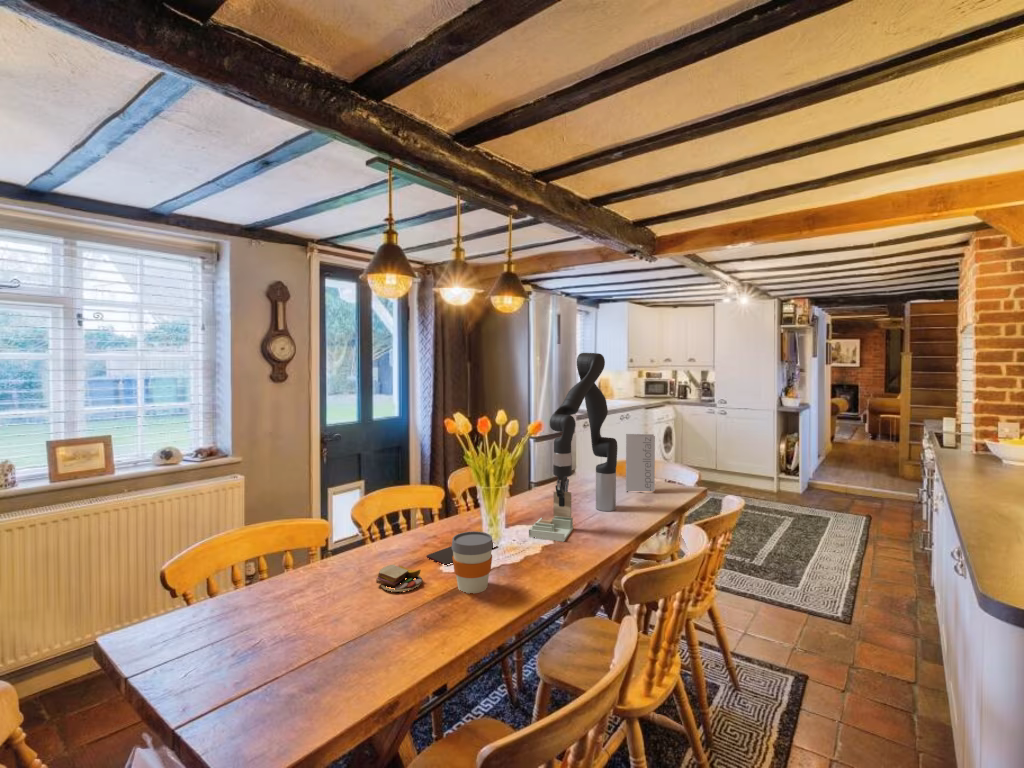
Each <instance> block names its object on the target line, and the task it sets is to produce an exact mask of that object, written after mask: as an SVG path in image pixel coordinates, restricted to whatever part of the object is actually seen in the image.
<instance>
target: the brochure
mask: <svg viewBox="0 0 1024 768" xmlns="http://www.w3.org/2000/svg"><path fill="white" fill-rule="evenodd" d="M655 460H656V435H655V434H649V433H648V434H647V433H646V434H645V433H642V434H641V433H626V434H625V491H656V490H655V484H656V483H655V482H656V481H655V478H656V475H655V472H656V471H655V470H656V468H655V467H656V461H655Z"/></svg>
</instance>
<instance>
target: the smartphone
mask: <svg viewBox="0 0 1024 768" xmlns="http://www.w3.org/2000/svg"><path fill="white" fill-rule="evenodd" d="M425 557H427V558H426V559H428V558H429V559H428V560H430V559H431V560H430V561H432V560H434V561H435V562H436V563H437V562H439V563H441V564H444V565H447V564H450V563H453V550H452V545H451V546H448V547H445V548H443V549H439V550H437V551H434V552H432V553H429V554H426V556H425ZM435 562H434V563H435ZM439 563H438V564H439Z"/></svg>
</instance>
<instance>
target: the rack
mask: <svg viewBox="0 0 1024 768" xmlns="http://www.w3.org/2000/svg"><path fill="white" fill-rule="evenodd" d="M540 520H543V517H540V518H539V519H538V520H537V521H536V522H534V524H533V525H532V526H531V527H530V528H529V529H528V538H529V537H536V538H535V539H537V538H543V539H542V540H546V539H550V540H549V541H554V540H555V542H556V541H557V542H561V543H562V542H565V541H566V539H568V537H569V536H570V534H571V532H572V531H573V529H574V524H573V523H574V519H573V517H571V518H567V517H558V516H553V517H552V518H551V521H552V524H546V523H538V522H539V521H540Z"/></svg>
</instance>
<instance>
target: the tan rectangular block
mask: <svg viewBox="0 0 1024 768" xmlns="http://www.w3.org/2000/svg"><path fill="white" fill-rule="evenodd" d="M560 494H561V493H560ZM554 516H558V517H567V518H572V491H568V492H565V506H564V507H560V506H559V497H557V493H556V490H554V491H553V515H552V517H554Z"/></svg>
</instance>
